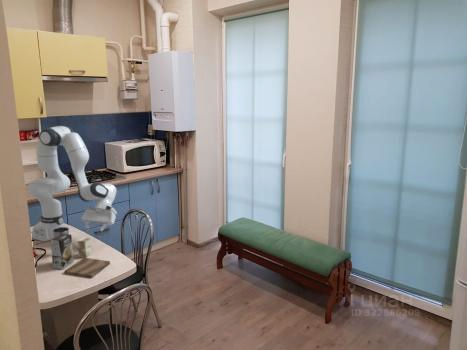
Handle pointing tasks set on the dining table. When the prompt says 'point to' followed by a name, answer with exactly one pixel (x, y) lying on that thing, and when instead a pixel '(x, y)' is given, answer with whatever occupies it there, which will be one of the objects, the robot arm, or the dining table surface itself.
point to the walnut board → (87, 267)
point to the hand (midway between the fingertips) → (93, 229)
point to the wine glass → (60, 231)
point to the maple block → (84, 247)
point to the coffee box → (62, 251)
